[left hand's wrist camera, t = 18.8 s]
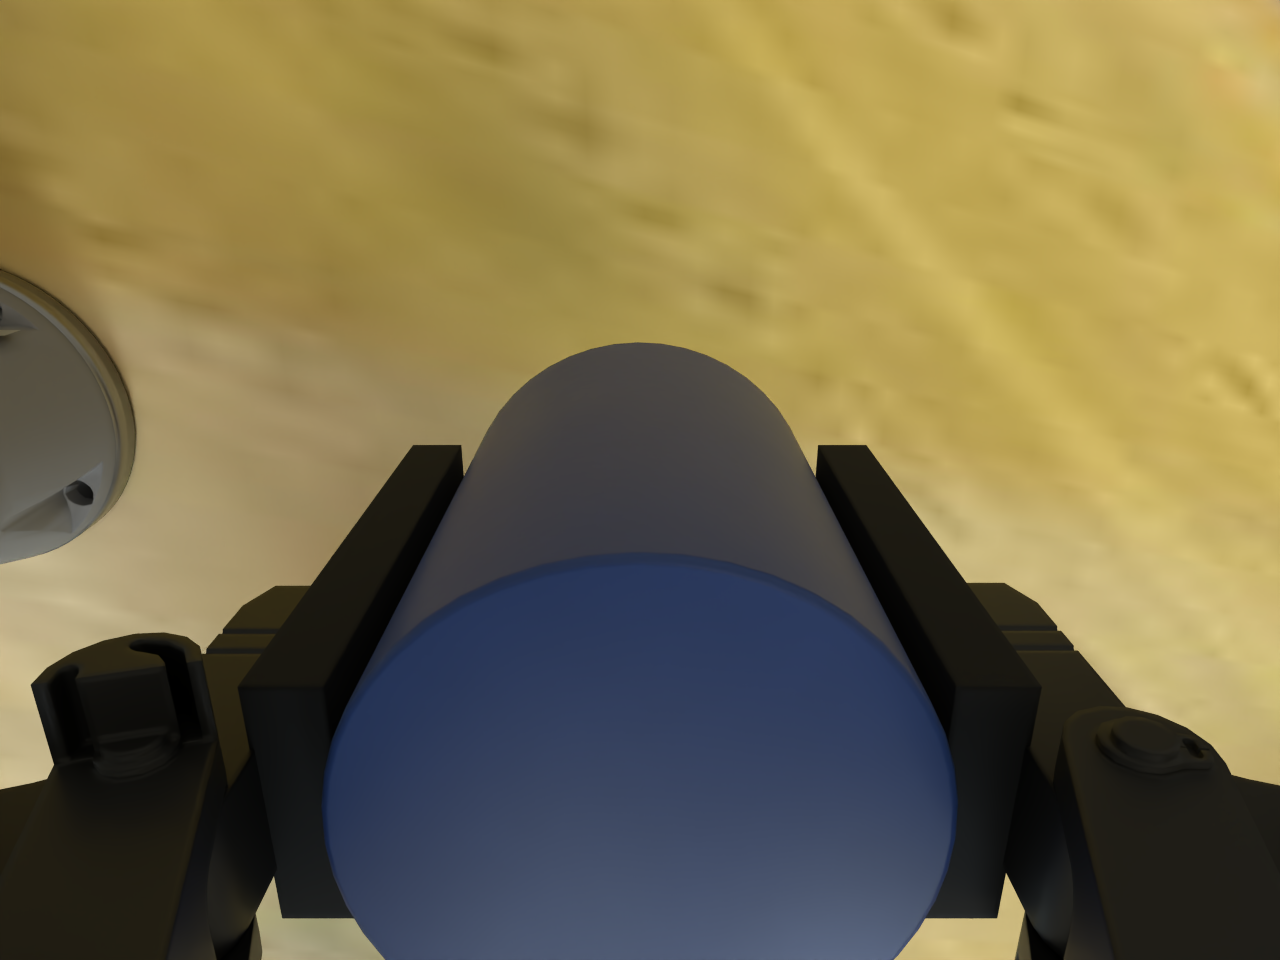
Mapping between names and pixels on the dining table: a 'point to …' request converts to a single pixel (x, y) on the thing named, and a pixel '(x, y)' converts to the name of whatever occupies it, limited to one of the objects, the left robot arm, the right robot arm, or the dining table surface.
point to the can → (639, 699)
